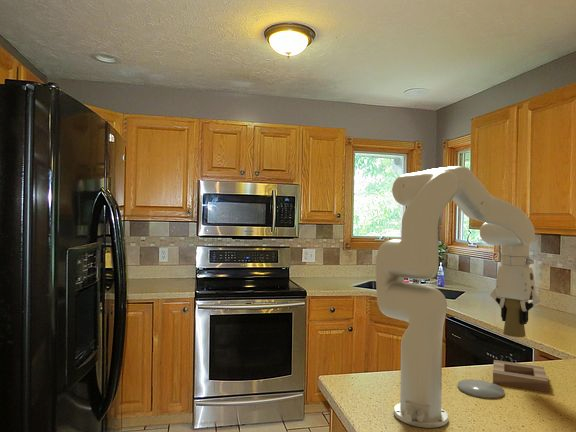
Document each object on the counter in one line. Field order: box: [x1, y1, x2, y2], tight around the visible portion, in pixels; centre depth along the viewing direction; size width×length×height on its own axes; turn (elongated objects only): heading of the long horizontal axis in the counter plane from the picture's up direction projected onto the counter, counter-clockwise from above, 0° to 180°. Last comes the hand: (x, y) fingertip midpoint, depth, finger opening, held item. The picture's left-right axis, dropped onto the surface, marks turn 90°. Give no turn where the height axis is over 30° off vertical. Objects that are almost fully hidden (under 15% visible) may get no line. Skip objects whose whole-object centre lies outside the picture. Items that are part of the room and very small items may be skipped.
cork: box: [502, 299, 527, 338], centre depth 128 cm, size 6×6×11 cm
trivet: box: [457, 378, 505, 400], centre depth 120 cm, size 12×12×1 cm
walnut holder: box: [492, 359, 549, 393], centre depth 128 cm, size 14×14×3 cm
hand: (514, 321), depth 128 cm, fingers closed on cork, 4 cm apart
